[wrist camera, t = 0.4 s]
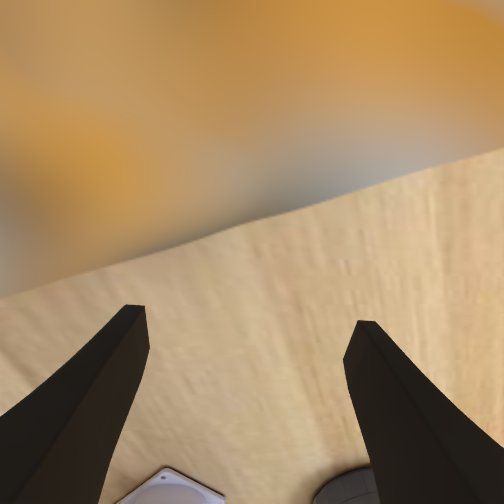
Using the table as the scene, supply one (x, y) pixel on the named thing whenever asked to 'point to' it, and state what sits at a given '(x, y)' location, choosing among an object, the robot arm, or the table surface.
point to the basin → (350, 489)
